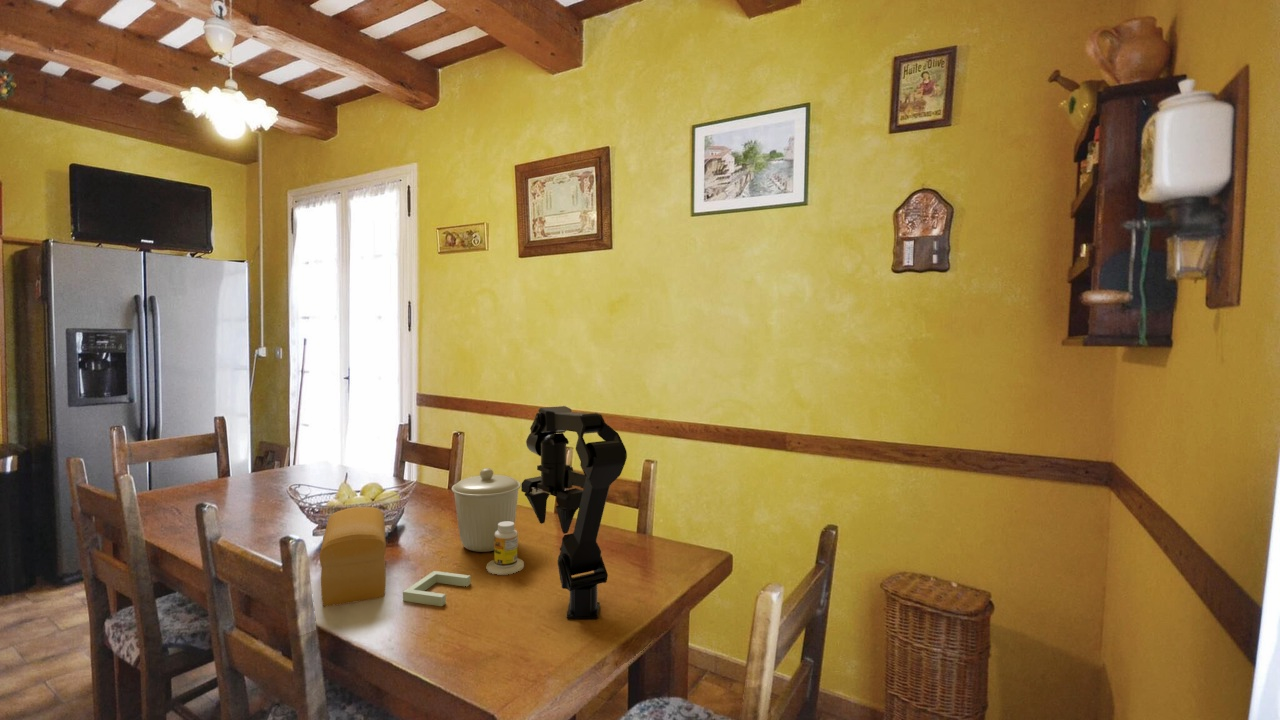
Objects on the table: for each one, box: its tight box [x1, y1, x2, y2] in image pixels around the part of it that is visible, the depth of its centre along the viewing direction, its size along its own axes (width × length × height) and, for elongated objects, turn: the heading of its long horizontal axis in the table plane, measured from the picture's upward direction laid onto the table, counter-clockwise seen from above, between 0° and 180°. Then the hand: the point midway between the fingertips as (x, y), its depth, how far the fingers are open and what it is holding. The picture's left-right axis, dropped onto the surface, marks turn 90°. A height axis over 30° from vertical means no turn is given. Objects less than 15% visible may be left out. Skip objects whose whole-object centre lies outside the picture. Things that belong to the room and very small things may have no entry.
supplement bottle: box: [493, 521, 519, 568], centre depth 147 cm, size 6×6×10 cm
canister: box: [451, 467, 522, 553], centre depth 162 cm, size 18×18×21 cm
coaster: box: [486, 557, 525, 576], centre depth 148 cm, size 9×9×1 cm
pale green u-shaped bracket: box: [402, 570, 472, 607], centre depth 134 cm, size 10×12×2 cm
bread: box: [319, 506, 387, 607], centre depth 140 cm, size 24×13×15 cm, turn 24°
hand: (553, 528), depth 138 cm, fingers open, 9 cm apart
